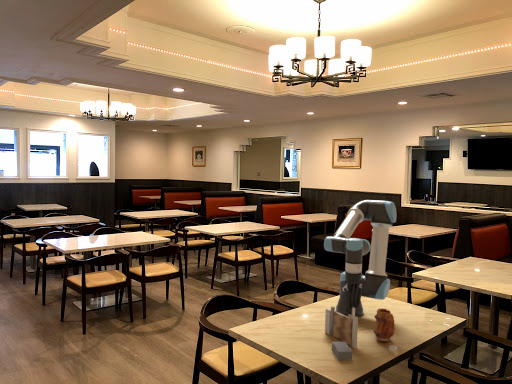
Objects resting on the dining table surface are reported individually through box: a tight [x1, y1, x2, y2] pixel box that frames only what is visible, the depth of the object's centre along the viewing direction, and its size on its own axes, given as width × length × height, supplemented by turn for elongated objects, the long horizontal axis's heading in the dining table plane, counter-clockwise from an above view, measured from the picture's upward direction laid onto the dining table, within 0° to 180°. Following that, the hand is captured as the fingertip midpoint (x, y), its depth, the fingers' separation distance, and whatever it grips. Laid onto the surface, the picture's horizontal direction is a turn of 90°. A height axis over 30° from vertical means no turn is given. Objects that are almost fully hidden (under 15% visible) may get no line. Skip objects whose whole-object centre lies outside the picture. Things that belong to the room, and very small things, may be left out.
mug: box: [372, 308, 396, 342], centre depth 195 cm, size 15×8×15 cm, turn 5°
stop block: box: [331, 341, 353, 361], centre depth 181 cm, size 10×6×4 cm, turn 4°
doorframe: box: [324, 306, 359, 349], centre depth 196 cm, size 20×2×14 cm, turn 31°
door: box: [332, 310, 353, 346], centre depth 195 cm, size 12×3×12 cm, turn 31°
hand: (351, 320), depth 196 cm, fingers closed
